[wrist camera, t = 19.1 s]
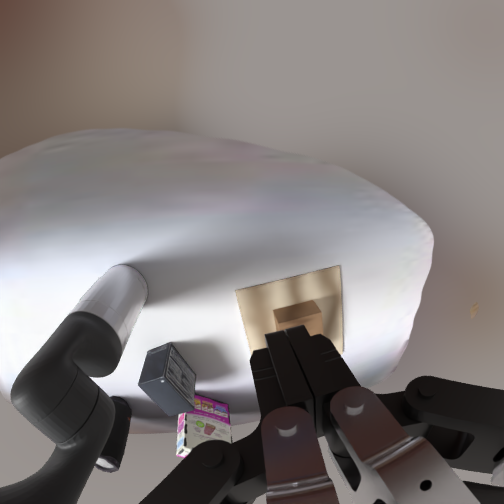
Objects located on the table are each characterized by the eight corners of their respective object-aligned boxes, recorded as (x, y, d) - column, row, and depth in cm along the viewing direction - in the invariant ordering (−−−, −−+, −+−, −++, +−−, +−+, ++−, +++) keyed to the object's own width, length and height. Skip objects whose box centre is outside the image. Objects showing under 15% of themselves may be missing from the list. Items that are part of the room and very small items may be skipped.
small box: (145, 351, 51) (135, 385, 41) (170, 340, 51) (163, 375, 41) (172, 383, 54) (168, 418, 44) (197, 375, 54) (196, 410, 44)
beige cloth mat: (256, 376, 56) (257, 377, 56) (235, 290, 49) (235, 291, 49) (341, 352, 57) (342, 353, 57) (338, 265, 50) (339, 266, 50)
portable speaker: (133, 398, 55) (118, 462, 36) (133, 419, 57) (122, 477, 38) (101, 389, 53) (79, 449, 34) (103, 411, 55) (87, 467, 37)
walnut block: (272, 309, 51) (280, 353, 54) (278, 323, 46) (285, 368, 49) (312, 299, 51) (316, 343, 55) (321, 312, 46) (324, 357, 50)
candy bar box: (178, 401, 56) (174, 456, 41) (186, 389, 55) (183, 446, 40) (219, 415, 59) (224, 467, 43) (229, 404, 58) (235, 458, 43)
